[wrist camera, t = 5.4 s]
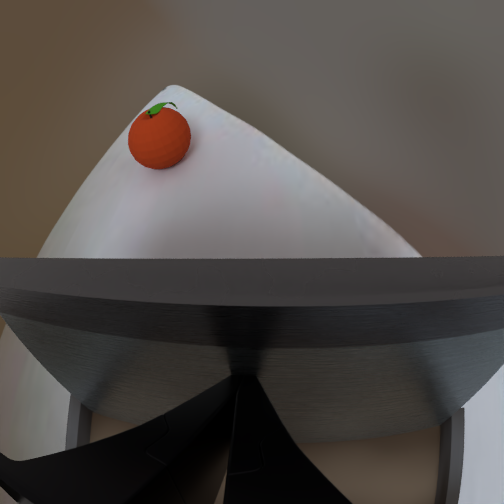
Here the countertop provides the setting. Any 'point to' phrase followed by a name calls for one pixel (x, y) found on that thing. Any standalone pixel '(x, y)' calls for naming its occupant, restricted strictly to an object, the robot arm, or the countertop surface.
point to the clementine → (159, 137)
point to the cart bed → (347, 459)
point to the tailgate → (266, 335)
